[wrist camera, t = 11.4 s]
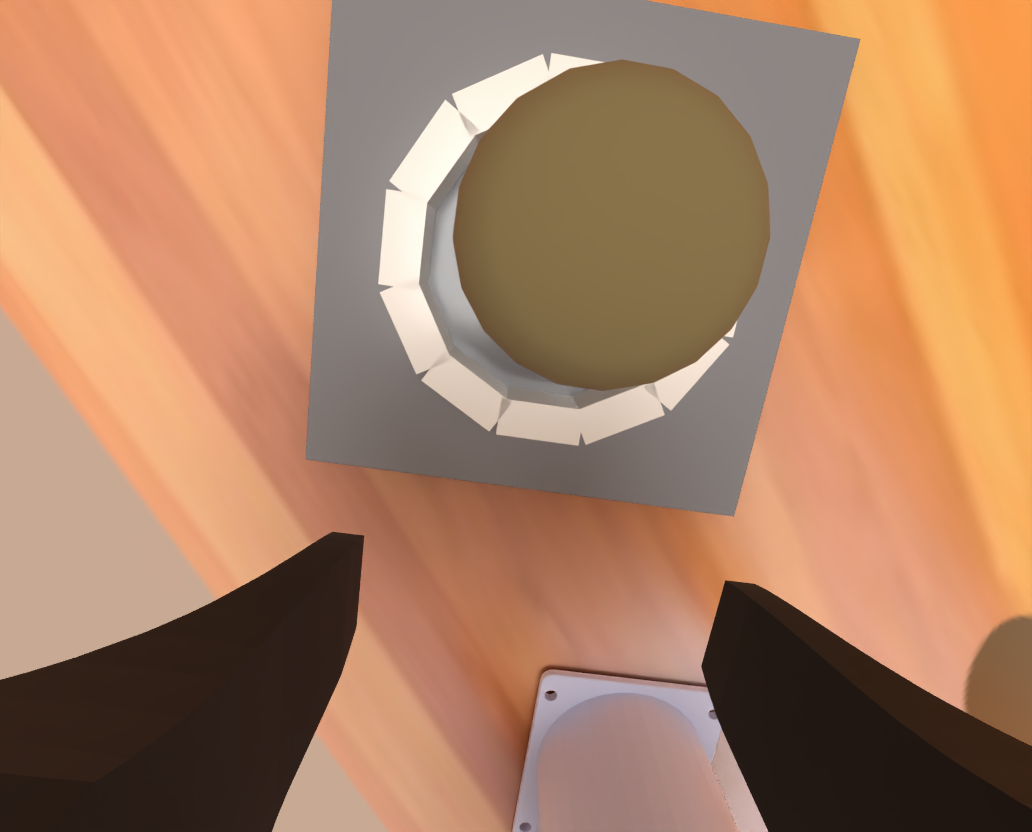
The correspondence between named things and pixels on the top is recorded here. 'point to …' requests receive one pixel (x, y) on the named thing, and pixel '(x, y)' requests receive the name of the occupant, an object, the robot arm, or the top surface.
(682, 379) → the ring stand
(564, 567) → the top surface
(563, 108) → the cork
